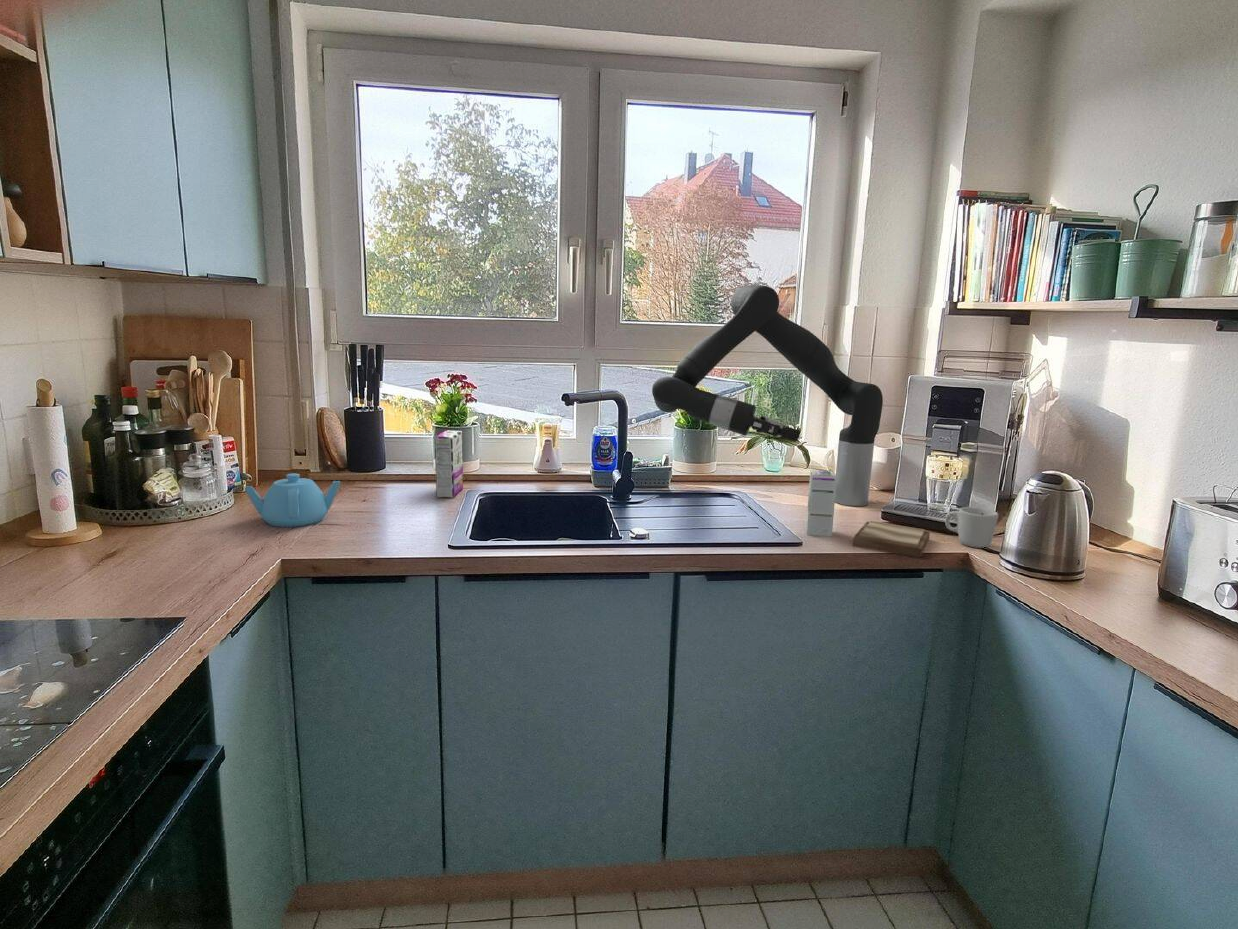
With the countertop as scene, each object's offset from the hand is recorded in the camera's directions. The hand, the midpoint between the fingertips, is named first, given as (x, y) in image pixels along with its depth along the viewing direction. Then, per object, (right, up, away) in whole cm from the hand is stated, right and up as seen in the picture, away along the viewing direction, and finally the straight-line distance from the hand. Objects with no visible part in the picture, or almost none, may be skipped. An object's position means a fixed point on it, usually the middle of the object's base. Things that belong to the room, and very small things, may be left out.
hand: (798, 436), depth 165 cm
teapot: (-116, -19, -2) cm, 118 cm away
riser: (+20, -24, -4) cm, 32 cm away
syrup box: (+5, -23, +2) cm, 23 cm away
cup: (+38, -25, -3) cm, 45 cm away
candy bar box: (-88, -15, +27) cm, 93 cm away
